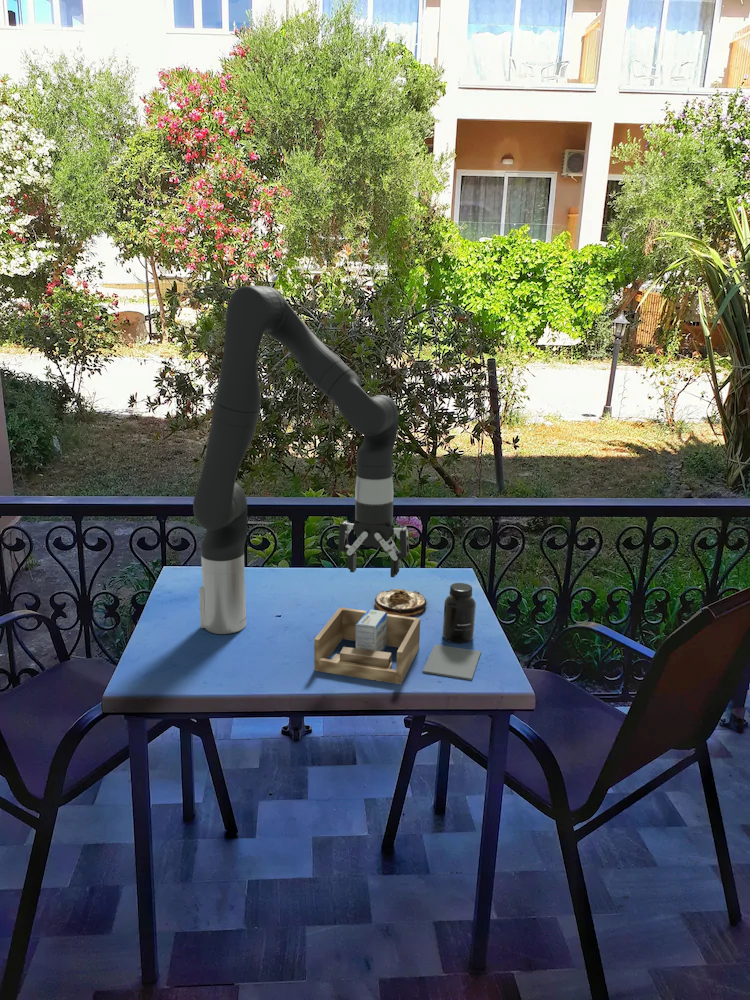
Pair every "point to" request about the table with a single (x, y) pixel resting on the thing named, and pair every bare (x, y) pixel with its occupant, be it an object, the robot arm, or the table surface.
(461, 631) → the supplement bottle
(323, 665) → the tan wooden open box
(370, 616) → the medicine box
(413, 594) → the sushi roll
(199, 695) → the table surface
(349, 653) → the wooden block
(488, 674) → the table surface
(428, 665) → the mat
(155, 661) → the table surface
